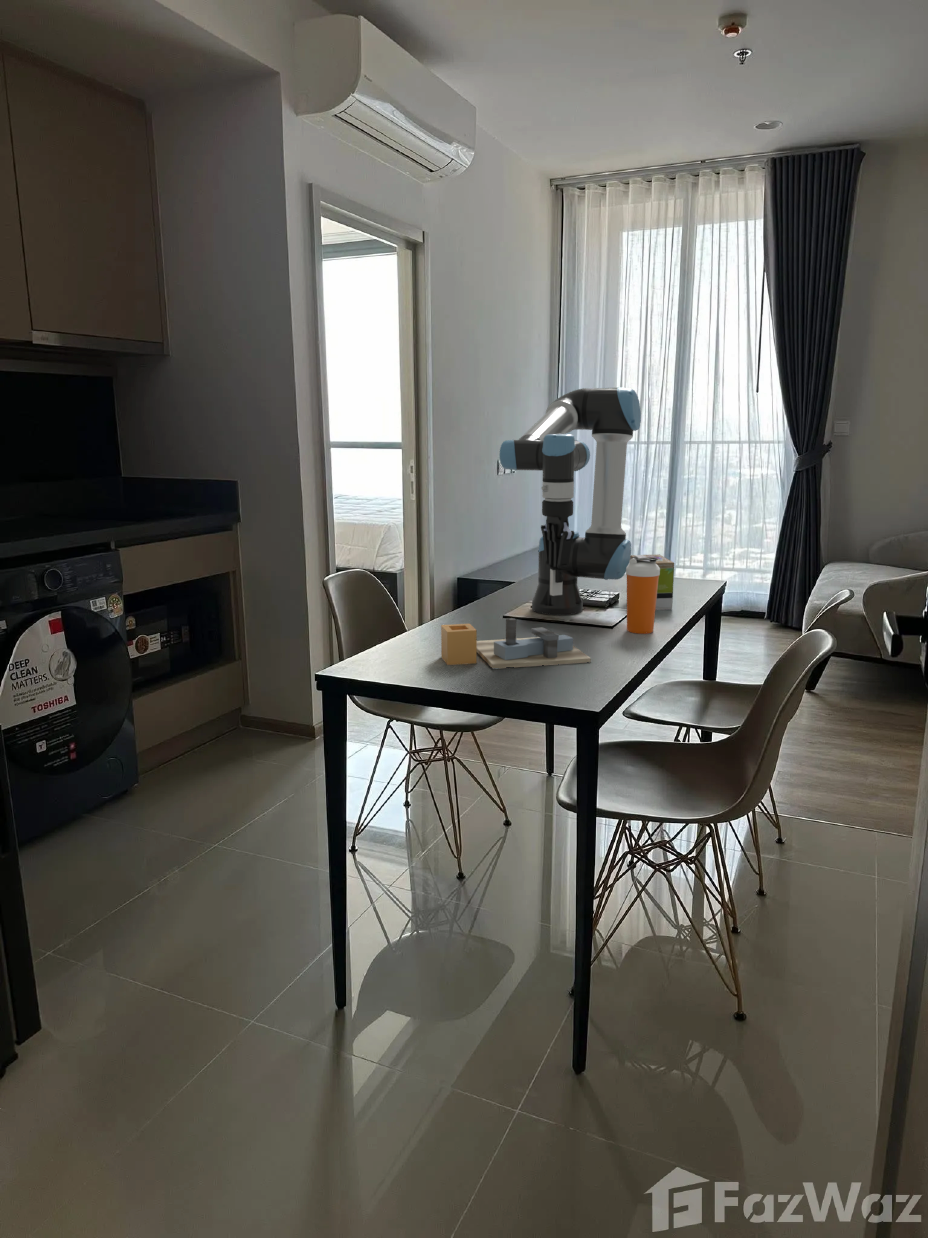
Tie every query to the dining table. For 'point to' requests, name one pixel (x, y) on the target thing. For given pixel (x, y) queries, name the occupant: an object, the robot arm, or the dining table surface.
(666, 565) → the tea box
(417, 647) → the dining table surface
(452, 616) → the dining table surface
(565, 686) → the dining table surface
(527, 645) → the link
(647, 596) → the shaker bottle
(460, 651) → the collar
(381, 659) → the dining table surface
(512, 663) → the pintle base
